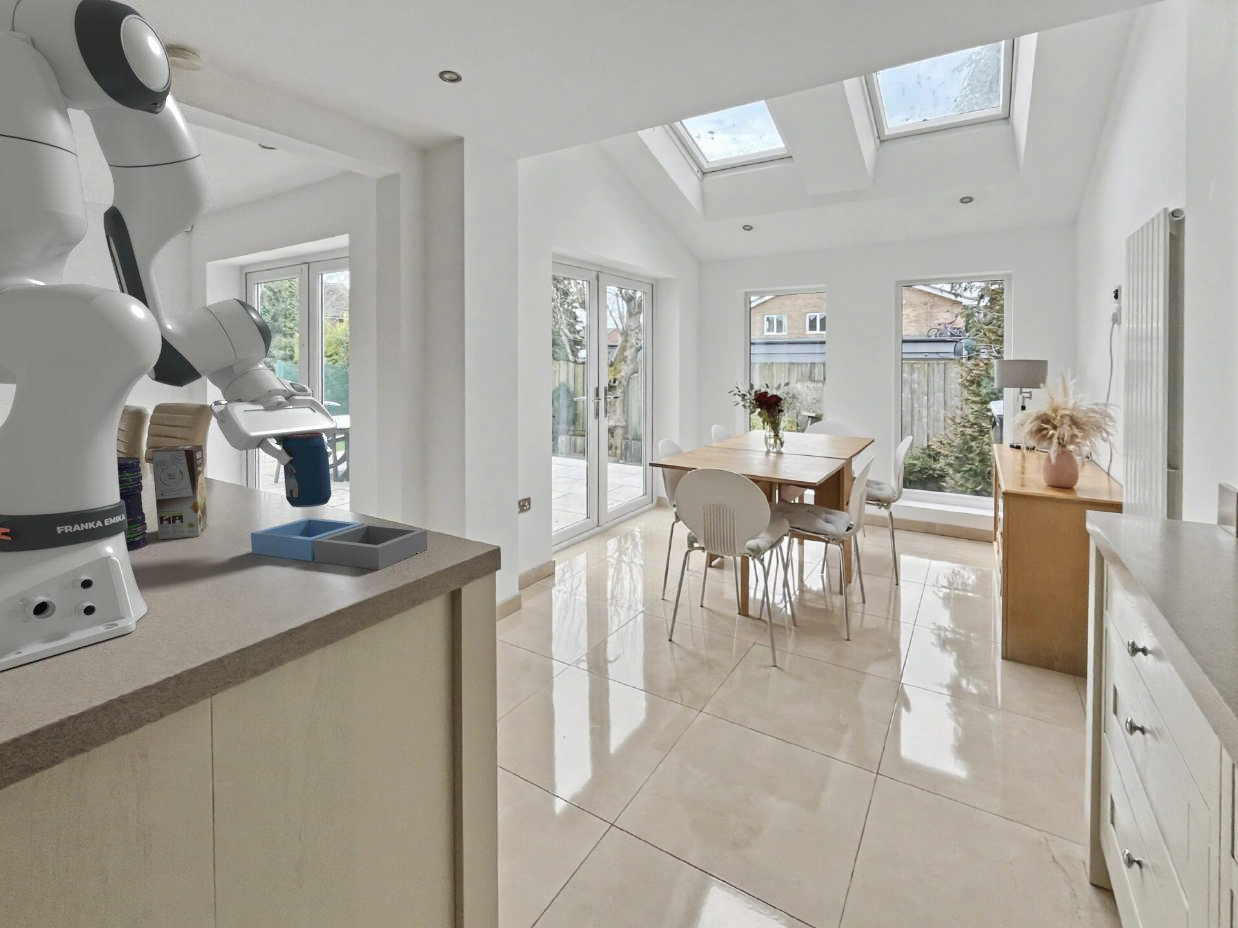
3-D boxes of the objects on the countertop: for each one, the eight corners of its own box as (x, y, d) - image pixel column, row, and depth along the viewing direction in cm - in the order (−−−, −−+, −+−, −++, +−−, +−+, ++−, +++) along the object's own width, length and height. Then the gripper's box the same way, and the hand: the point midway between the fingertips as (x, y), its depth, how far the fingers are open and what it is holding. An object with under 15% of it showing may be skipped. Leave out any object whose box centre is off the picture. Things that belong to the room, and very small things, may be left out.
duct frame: (379, 569, 96) (378, 547, 96) (252, 553, 104) (250, 532, 104) (427, 549, 108) (426, 529, 108) (309, 536, 116) (308, 517, 116)
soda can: (337, 499, 111) (332, 432, 110) (324, 507, 104) (319, 435, 103) (295, 501, 110) (289, 433, 109) (280, 509, 103) (274, 436, 102)
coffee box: (200, 536, 115) (193, 449, 112) (158, 540, 112) (150, 450, 110) (209, 525, 123) (202, 444, 121) (169, 528, 120) (162, 445, 118)
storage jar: (62, 550, 104) (52, 461, 102) (130, 537, 113) (122, 455, 111) (91, 559, 100) (82, 466, 98) (160, 545, 108) (152, 459, 106)
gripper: (213, 387, 97) (266, 453, 95) (315, 385, 116) (360, 440, 114) (194, 415, 99) (246, 480, 97) (297, 409, 118) (342, 463, 117)
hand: (309, 459), depth 106 cm, fingers closed on soda can, 7 cm apart
